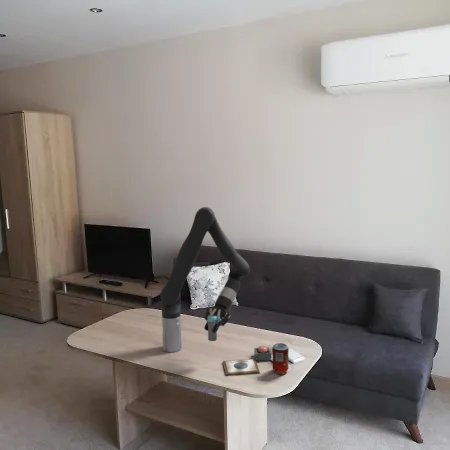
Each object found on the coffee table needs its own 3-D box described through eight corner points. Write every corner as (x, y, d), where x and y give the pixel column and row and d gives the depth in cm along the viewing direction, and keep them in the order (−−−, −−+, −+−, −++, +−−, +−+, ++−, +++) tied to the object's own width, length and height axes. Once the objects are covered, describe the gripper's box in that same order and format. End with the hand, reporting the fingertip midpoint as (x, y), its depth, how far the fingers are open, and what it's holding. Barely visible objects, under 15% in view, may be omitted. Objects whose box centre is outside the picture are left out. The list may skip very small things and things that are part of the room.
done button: (259, 354, 211) (259, 349, 211) (257, 350, 215) (257, 346, 215) (268, 354, 211) (268, 349, 211) (266, 350, 216) (266, 345, 215)
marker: (208, 341, 204) (208, 318, 203) (207, 337, 208) (207, 315, 207) (217, 340, 205) (217, 317, 203) (216, 337, 209) (216, 314, 207)
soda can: (289, 375, 196) (289, 348, 194) (272, 375, 196) (272, 348, 194) (287, 367, 203) (287, 342, 201) (272, 367, 203) (272, 342, 201)
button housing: (257, 361, 210) (256, 354, 209) (254, 354, 217) (254, 348, 216) (271, 360, 211) (271, 353, 210) (268, 353, 218) (268, 347, 217)
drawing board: (226, 375, 196) (226, 373, 196) (222, 362, 209) (222, 360, 209) (259, 373, 198) (259, 371, 198) (254, 360, 211) (254, 358, 211)
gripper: (210, 292, 214) (194, 323, 206) (234, 297, 205) (217, 331, 197) (217, 300, 219) (201, 331, 211) (241, 305, 210) (225, 338, 202)
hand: (209, 330), depth 204 cm, fingers closed on marker, 4 cm apart
